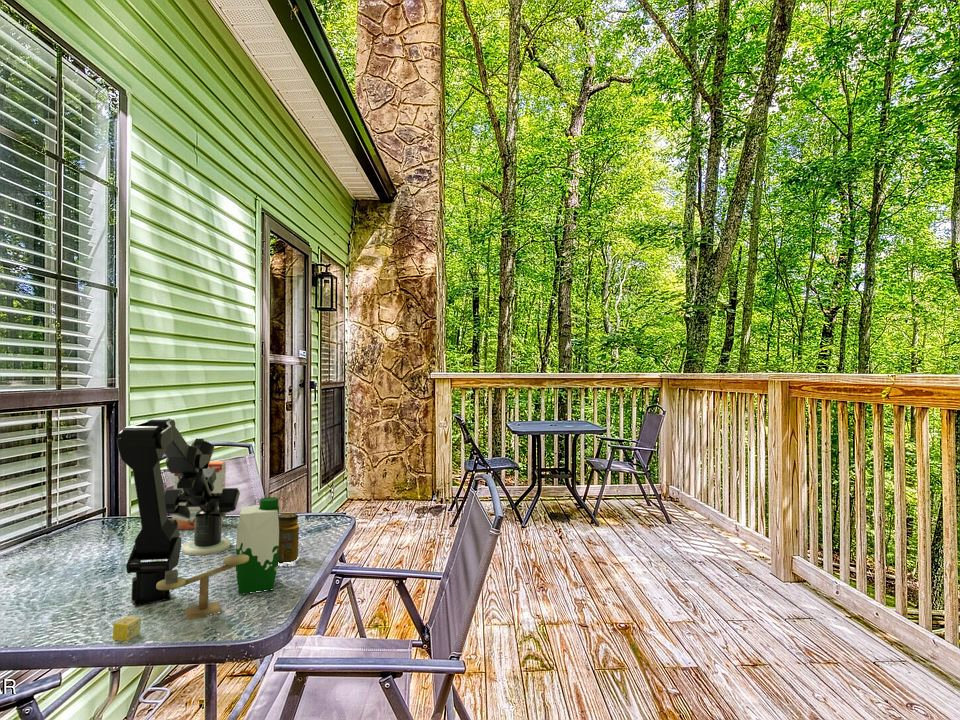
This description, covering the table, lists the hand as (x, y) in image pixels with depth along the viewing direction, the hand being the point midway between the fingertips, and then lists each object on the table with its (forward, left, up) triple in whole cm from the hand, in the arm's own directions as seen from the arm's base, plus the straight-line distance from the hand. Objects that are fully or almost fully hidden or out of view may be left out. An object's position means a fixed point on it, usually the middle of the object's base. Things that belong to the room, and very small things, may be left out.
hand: (207, 516), depth 146 cm
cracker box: (-1, -26, -9) cm, 27 cm away
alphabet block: (+20, +47, -9) cm, 52 cm away
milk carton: (-5, +36, -9) cm, 38 cm away
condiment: (-15, +22, -9) cm, 29 cm away
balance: (+7, +44, -9) cm, 46 cm away
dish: (0, -1, -9) cm, 9 cm away
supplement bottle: (0, 0, -8) cm, 8 cm away
